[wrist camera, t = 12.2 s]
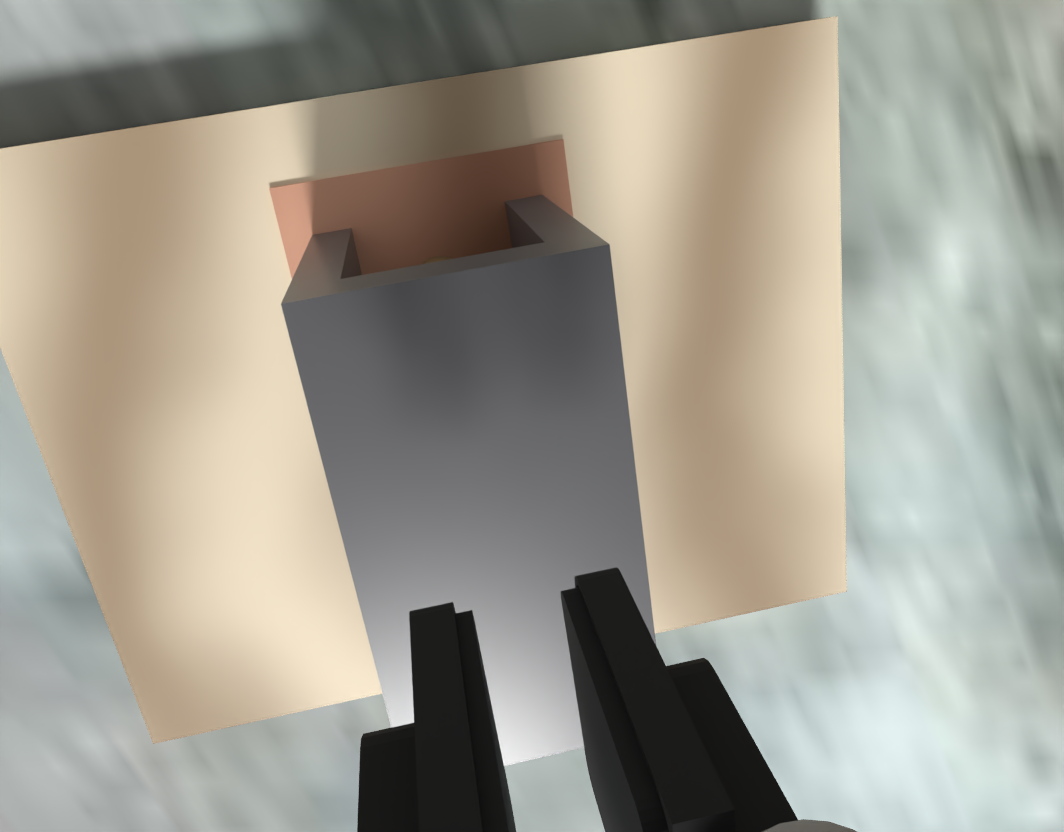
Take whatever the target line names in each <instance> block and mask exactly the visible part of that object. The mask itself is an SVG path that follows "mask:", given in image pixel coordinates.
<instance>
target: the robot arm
mask: <svg viewBox="0 0 1064 832" xmlns="http://www.w3.org/2000/svg"><path fill="white" fill-rule="evenodd" d="M574 579H575V588H573V589H568V590H564V591H561V602H562V608H563V615H564V621H565V627H566V634H567V640H568V647H569V653H570V659H571V666H572V672H573V678H574V685H575V691H576V697H577V704H578V710H579V717H580V723H581V729H582V736H583V742H584V748H585V755H586V761H587V766H588V771H589V775H590V780H591V784H592V787H593V791H594V795H595V798H596V801H597V805H598V808H599V812H600V815H601V818H602V822H603V825H604V829H605V832H856V831H855V830H853V829H850V828H847V827H844V826H841V825H838V824H834V823H831V822H828V821H816V820H804V819H803V820H798V819H797V817H796V815H795V814H794V812H793V810H792V808H791V806H790V805H789V803H788V801H787V799H786V797H785V796H784V794H783V792H782V790H781V788H780V787H779V785H778V783H777V781H776V779H775V778H774V776H773V774H772V772H771V771H770V769H769V767H768V765H767V763H766V762H765V760H764V758H763V756H762V754H761V753H760V751H759V749H758V747H757V745H756V744H755V742H754V740H753V738H752V736H751V735H750V733H749V731H748V729H747V727H746V726H745V724H744V722H743V720H742V719H741V717H740V715H739V713H738V711H737V710H736V708H735V706H734V704H733V702H732V701H731V699H730V697H729V695H728V693H727V692H726V690H725V688H724V686H723V684H722V683H721V681H720V679H719V677H718V675H717V674H716V672H715V670H714V668H713V667H712V665H711V664H710V663H709V661H708V660H706V659H705V658H701V659H697V660H692V661H688V662H683V663H679V664H674V665H670V666H665V664H664V661H663V659H662V657H661V655H660V653H659V651H658V649H657V647H656V645H655V643H654V641H653V639H652V636H651V634H650V632H649V630H648V628H647V626H646V624H645V622H644V620H643V618H642V616H641V613H640V611H639V609H638V607H637V605H636V603H635V601H634V599H633V597H632V595H631V593H630V590H629V588H628V586H627V584H626V582H625V580H624V578H623V576H622V574H621V572H620V570H619V568H617V567H615V568H611V569H606V570H601V571H597V572H592V573H587V574H582V575H578V576H575V578H574ZM409 622H410V643H411V665H412V686H413V707H414V723H410V724H406V725H401V726H397V727H392V728H388V729H383V730H379V731H374V732H370V733H365V734H363V736H362V738H361V747H360V773H359V802H358V830H357V832H516V828H515V822H514V817H513V811H512V805H511V800H510V794H509V789H508V784H507V779H506V774H505V769H504V764H503V759H502V754H501V749H500V744H499V739H498V734H497V729H496V724H495V719H494V714H493V710H492V705H491V700H490V695H489V690H488V685H487V680H486V675H485V670H484V665H483V660H482V655H481V650H480V645H479V640H478V635H477V630H476V625H475V620H474V616H473V611H472V610H470V611H465V612H460V613H456V612H455V607H454V604H453V602H450V603H446V604H441V605H436V606H431V607H427V608H422V609H417V610H412V611H410V612H409Z"/></svg>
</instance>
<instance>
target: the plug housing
mask: <svg viewBox="0 0 1064 832" xmlns="http://www.w3.org/2000/svg"><path fill="white" fill-rule="evenodd" d="M505 206H506V212H507V218H508V225H509V231H510V237H511V244H512V248H510V249H505V250H499V251H494V252H488V253H482V254H477V255H471V256H466V257H460V258H455V259H449V260H443V261H438V262H432V263H427V264H421V265H416V266H410V267H405V268H399V269H393V270H388V271H382V272H377V273H371V274H366V275H362V273H361V269H360V264H359V260H358V255H357V251H356V246H355V242H354V238H353V233H352V229H351V228H349V229H343V230H337V231H332V232H326V233H320V234H315V235H312V237H311V239H310V241H309V243H308V245H307V248H306V250H305V252H304V254H303V256H302V259H301V261H300V263H299V265H298V267H297V270H296V272H295V274H294V276H293V278H292V280H291V283H290V285H289V287H288V289H287V291H286V294H285V296H284V298H283V300H282V302H281V306H282V310H283V314H284V318H285V322H286V326H287V329H288V333H289V337H290V341H291V345H292V349H293V352H294V356H295V360H296V364H297V368H298V372H299V375H300V379H301V383H302V387H303V391H304V395H305V398H306V402H307V406H308V410H309V414H310V418H311V421H312V425H313V429H314V433H315V437H316V441H317V444H318V448H319V452H320V456H321V460H322V464H323V467H324V471H325V475H326V479H327V483H328V487H329V490H330V494H331V498H332V502H333V506H334V510H335V513H336V517H337V521H338V525H339V529H340V533H341V536H342V540H343V544H344V548H345V552H346V556H347V559H348V563H349V567H350V571H351V575H352V579H353V582H354V586H355V590H356V594H357V598H358V602H359V605H360V609H361V613H362V617H363V621H364V625H365V628H366V632H367V636H368V640H369V644H370V648H371V651H372V655H373V659H374V663H375V667H376V671H377V674H378V678H379V682H380V686H381V690H382V694H383V697H384V701H385V705H386V709H387V713H388V717H389V720H390V724H391V728H392V727H397V726H401V725H406V724H410V723H414V707H413V686H412V665H411V643H410V622H409V612H410V611H412V610H417V609H422V608H427V607H431V606H436V605H441V604H446V603H450V602H453V604H454V607H455V612H456V613H460V612H465V611H470V610H472V611H473V616H474V620H475V625H476V630H477V635H478V640H479V645H480V650H481V655H482V660H483V665H484V670H485V675H486V680H487V685H488V690H489V695H490V700H491V705H492V710H493V714H494V719H495V724H496V729H497V734H498V739H499V744H500V749H501V754H502V759H503V764H504V766H506V765H510V764H515V763H519V762H523V761H528V760H532V759H536V758H540V757H545V756H549V755H553V754H558V753H562V752H566V751H571V750H575V749H579V748H584V742H583V736H582V729H581V723H580V717H579V710H578V704H577V697H576V691H575V685H574V678H573V672H572V666H571V659H570V653H569V647H568V640H567V634H566V627H565V621H564V615H563V608H562V602H561V591H564V590H568V589H573V588H575V579H574V578H575V576H578V575H582V574H587V573H592V572H597V571H601V570H606V569H611V568H615V567H617V568H619V570H620V572H621V574H622V576H623V578H624V580H625V582H626V584H627V586H628V588H629V590H630V593H631V595H632V597H633V599H634V601H635V603H636V605H637V607H638V609H639V611H640V613H641V616H642V618H643V620H644V622H645V624H646V626H647V628H648V630H649V632H650V634H651V636H652V639H653V641H654V643H655V645H656V639H655V631H654V622H653V614H652V605H651V596H650V588H649V579H648V571H647V562H646V553H645V545H644V536H643V527H642V519H641V510H640V502H639V493H638V484H637V476H636V467H635V459H634V450H633V441H632V433H631V424H630V415H629V407H628V398H627V390H626V381H625V372H624V364H623V355H622V346H621V338H620V329H619V321H618V312H617V303H616V295H615V286H614V278H613V269H612V260H611V252H610V244H609V243H607V242H606V241H604V240H603V239H602V238H600V237H599V236H598V235H596V234H595V233H594V232H592V231H591V230H590V229H588V228H587V227H586V226H584V225H583V224H581V223H580V222H579V221H577V220H576V219H575V218H573V217H572V216H571V215H569V214H568V213H567V212H565V211H564V210H563V209H561V208H560V207H558V206H557V205H556V204H554V203H553V202H552V201H550V200H549V199H548V198H546V197H545V196H544V195H538V196H532V197H526V198H521V199H515V200H509V201H505Z"/></svg>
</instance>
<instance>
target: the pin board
mask: <svg viewBox="0 0 1064 832" xmlns="http://www.w3.org/2000/svg"><path fill="white" fill-rule="evenodd" d="M538 195H544V196H545V197H546V198H548V199H549V200H550V201H552V202H553V203H554V204H556V205H557V206H558V207H560V208H561V209H563V210H564V211H565V212H567V213H568V214H569V215H571V216H572V217H573V218H575V219H576V220H577V221H579V222H580V223H581V224H583V225H584V226H586V227H587V228H588V229H590V230H591V231H592V232H594V233H595V234H596V235H598V236H599V237H600V238H602V239H603V240H604V241H606V242H607V243H609V244H610V252H611V260H612V269H613V278H614V286H615V295H616V303H617V312H618V321H619V329H620V338H621V346H622V355H623V364H624V372H625V381H626V390H627V398H628V407H629V415H630V424H631V433H632V441H633V450H634V459H635V467H636V476H637V484H638V493H639V502H640V510H641V519H642V527H643V536H644V545H645V553H646V562H647V571H648V579H649V588H650V596H651V605H652V614H653V622H654V631H655V633H660V632H665V631H669V630H674V629H678V628H683V627H687V626H692V625H696V624H701V623H706V622H710V621H715V620H719V619H724V618H728V617H733V616H737V615H742V614H747V613H751V612H756V611H760V610H765V609H769V608H774V607H778V606H783V605H788V604H792V603H797V602H801V601H806V600H810V599H815V598H819V597H824V596H828V595H833V594H838V593H842V592H847V579H846V517H845V454H844V392H843V330H842V268H841V205H840V143H839V81H838V19H837V16H836V17H829V18H821V19H814V20H807V21H801V22H795V23H788V24H782V25H776V26H769V27H763V28H757V29H750V30H744V31H738V32H731V33H725V34H719V35H712V36H706V37H700V38H694V39H687V40H681V41H675V42H668V43H662V44H656V45H649V46H643V47H637V48H630V49H624V50H618V51H611V52H605V53H599V54H592V55H586V56H580V57H574V58H567V59H561V60H555V61H548V62H542V63H536V64H529V65H523V66H517V67H510V68H504V69H498V70H491V71H485V72H479V73H472V74H466V75H460V76H454V77H447V78H441V79H435V80H428V81H422V82H416V83H409V84H403V85H397V86H390V87H384V88H378V89H371V90H365V91H359V92H352V93H346V94H340V95H333V96H327V97H321V98H315V99H308V100H302V101H296V102H289V103H283V104H277V105H270V106H264V107H258V108H251V109H245V110H239V111H232V112H226V113H220V114H213V115H207V116H201V117H195V118H188V119H182V120H176V121H169V122H163V123H157V124H150V125H144V126H138V127H131V128H125V129H119V130H112V131H106V132H100V133H93V134H87V135H81V136H75V137H68V138H62V139H56V140H49V141H43V142H37V143H30V144H24V145H18V146H11V147H5V148H0V348H1V351H2V353H3V356H4V358H5V361H6V364H7V366H8V369H9V371H10V374H11V377H12V379H13V382H14V384H15V387H16V389H17V392H18V395H19V397H20V400H21V402H22V405H23V408H24V410H25V413H26V415H27V418H28V421H29V423H30V426H31V428H32V431H33V434H34V436H35V439H36V441H37V444H38V446H39V449H40V452H41V454H42V457H43V459H44V462H45V465H46V467H47V470H48V472H49V475H50V478H51V480H52V483H53V485H54V488H55V490H56V493H57V496H58V498H59V501H60V503H61V506H62V509H63V511H64V514H65V516H66V519H67V522H68V524H69V527H70V529H71V532H72V535H73V537H74V540H75V542H76V545H77V547H78V550H79V553H80V555H81V558H82V560H83V563H84V566H85V568H86V571H87V573H88V576H89V579H90V581H91V584H92V586H93V589H94V591H95V594H96V597H97V599H98V602H99V604H100V607H101V610H102V612H103V615H104V617H105V620H106V623H107V625H108V628H109V630H110V633H111V636H112V638H113V641H114V643H115V646H116V648H117V651H118V654H119V656H120V659H121V661H122V664H123V667H124V669H125V672H126V674H127V677H128V680H129V682H130V685H131V687H132V690H133V692H134V695H135V698H136V700H137V703H138V705H139V708H140V711H141V713H142V716H143V718H144V721H145V724H146V726H147V729H148V731H149V734H150V737H151V739H152V742H153V744H155V743H159V742H164V741H168V740H173V739H177V738H182V737H187V736H191V735H196V734H200V733H205V732H209V731H214V730H218V729H223V728H228V727H232V726H237V725H241V724H246V723H250V722H255V721H259V720H264V719H269V718H273V717H278V716H282V715H287V714H291V713H296V712H300V711H305V710H310V709H314V708H319V707H323V706H328V705H332V704H337V703H341V702H346V701H350V700H355V699H360V698H364V697H369V696H373V695H378V694H382V690H381V686H380V682H379V678H378V674H377V671H376V667H375V663H374V659H373V655H372V651H371V648H370V644H369V640H368V636H367V632H366V628H365V625H364V621H363V617H362V613H361V609H360V605H359V602H358V598H357V594H356V590H355V586H354V582H353V579H352V575H351V571H350V567H349V563H348V559H347V556H346V552H345V548H344V544H343V540H342V536H341V533H340V529H339V525H338V521H337V517H336V513H335V510H334V506H333V502H332V498H331V494H330V490H329V487H328V483H327V479H326V475H325V471H324V467H323V464H322V460H321V456H320V452H319V448H318V444H317V441H316V437H315V433H314V429H313V425H312V421H311V418H310V414H309V410H308V406H307V402H306V398H305V395H304V391H303V387H302V383H301V379H300V375H299V372H298V368H297V364H296V360H295V356H294V352H293V349H292V345H291V341H290V337H289V333H288V329H287V326H286V322H285V318H284V314H283V310H282V306H281V302H282V300H283V298H284V296H285V294H286V291H287V289H288V287H289V285H290V283H291V280H292V278H293V276H294V274H295V272H296V270H297V267H298V265H299V263H300V261H301V259H302V256H303V254H304V252H305V250H306V248H307V245H308V243H309V241H310V239H311V237H312V235H315V234H320V233H326V232H332V231H337V230H343V229H349V228H351V229H352V233H353V238H354V242H355V246H356V251H357V255H358V260H359V264H360V269H361V273H362V275H366V274H371V273H377V272H382V271H388V270H393V269H399V268H405V267H410V266H416V265H421V264H427V263H432V262H438V261H443V260H449V259H455V258H460V257H466V256H471V255H477V254H482V253H488V252H494V251H499V250H505V249H510V248H512V244H511V237H510V231H509V225H508V218H507V212H506V206H505V201H509V200H515V199H521V198H526V197H532V196H538Z"/></svg>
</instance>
